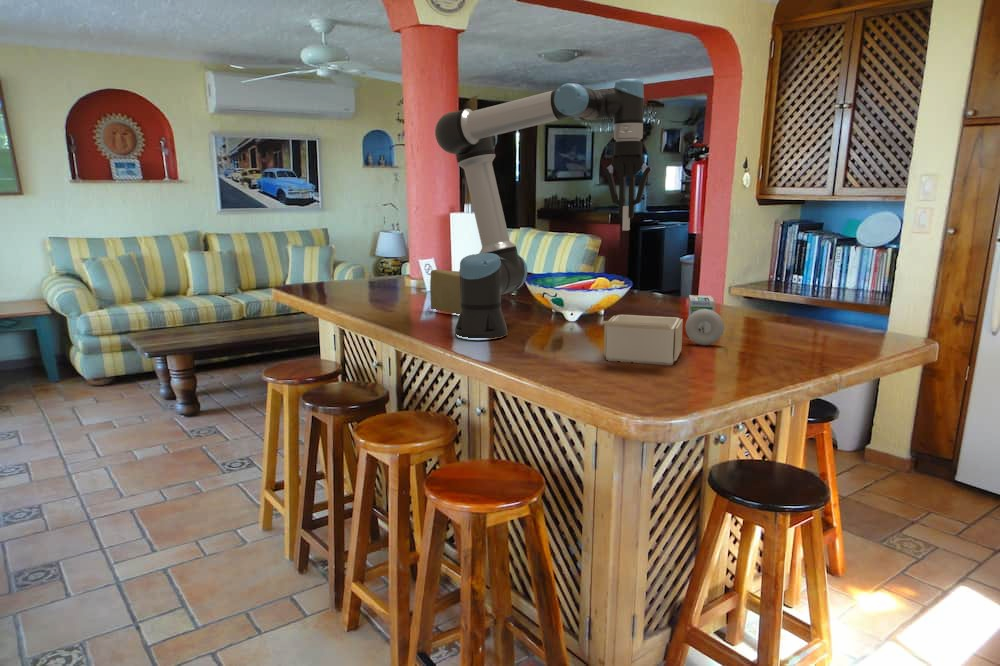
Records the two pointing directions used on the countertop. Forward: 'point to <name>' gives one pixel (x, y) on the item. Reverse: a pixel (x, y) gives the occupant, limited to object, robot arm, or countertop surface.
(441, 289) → the brown box
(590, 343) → the countertop surface
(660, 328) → the flap
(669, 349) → the carton
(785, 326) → the countertop surface
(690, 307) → the light bulb box
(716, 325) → the donut
